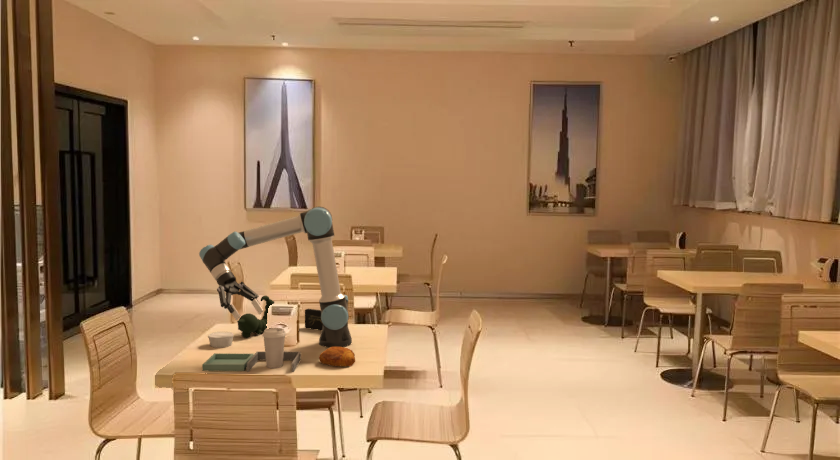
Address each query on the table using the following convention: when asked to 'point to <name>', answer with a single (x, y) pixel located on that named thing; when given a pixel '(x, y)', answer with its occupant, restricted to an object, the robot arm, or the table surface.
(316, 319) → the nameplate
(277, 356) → the coffee cup
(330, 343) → the robot arm
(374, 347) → the table surface
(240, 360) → the tray
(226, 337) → the ramekin
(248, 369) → the dock
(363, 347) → the table surface
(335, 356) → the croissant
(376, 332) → the table surface
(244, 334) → the toy figurine
